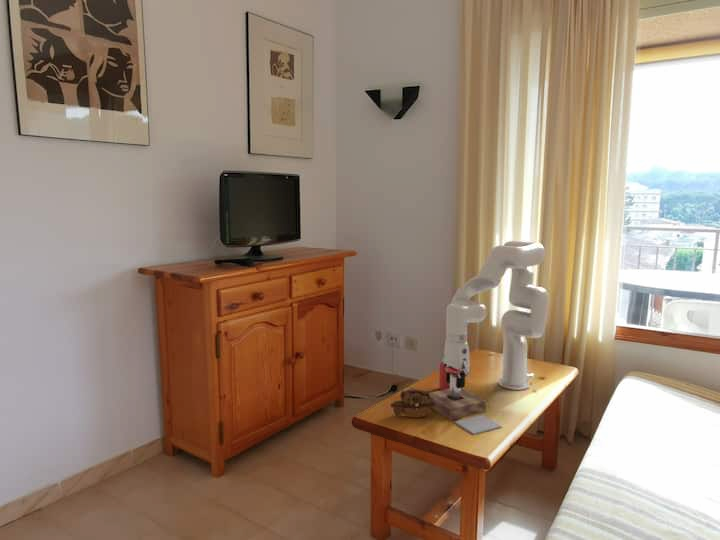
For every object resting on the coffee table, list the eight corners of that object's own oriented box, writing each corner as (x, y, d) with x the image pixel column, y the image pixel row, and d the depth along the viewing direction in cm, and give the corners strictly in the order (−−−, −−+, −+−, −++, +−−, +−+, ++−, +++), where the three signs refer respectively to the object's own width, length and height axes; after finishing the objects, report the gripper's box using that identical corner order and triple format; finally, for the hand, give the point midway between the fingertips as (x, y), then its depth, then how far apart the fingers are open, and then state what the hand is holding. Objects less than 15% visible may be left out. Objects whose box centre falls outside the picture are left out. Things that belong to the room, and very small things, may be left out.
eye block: (459, 396, 203) (459, 386, 203) (485, 411, 189) (486, 401, 188) (425, 403, 196) (425, 393, 196) (450, 419, 182) (450, 409, 181)
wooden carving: (391, 420, 182) (392, 393, 180) (390, 415, 186) (390, 388, 185) (437, 418, 183) (438, 391, 182) (435, 413, 188) (435, 387, 186)
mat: (482, 416, 184) (482, 415, 184) (501, 427, 176) (501, 426, 176) (455, 423, 179) (455, 421, 179) (473, 434, 170) (473, 433, 170)
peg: (456, 402, 197) (457, 364, 195) (467, 409, 191) (468, 369, 189) (442, 405, 194) (442, 367, 192) (452, 412, 188) (453, 372, 186)
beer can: (455, 393, 206) (455, 364, 205) (438, 392, 208) (439, 363, 206) (455, 387, 213) (456, 359, 211) (439, 386, 214) (440, 358, 212)
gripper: (479, 342, 183) (478, 390, 185) (450, 330, 198) (449, 376, 201) (462, 344, 179) (461, 394, 182) (434, 333, 195) (433, 379, 197)
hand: (455, 384), depth 191 cm, fingers open, 5 cm apart
